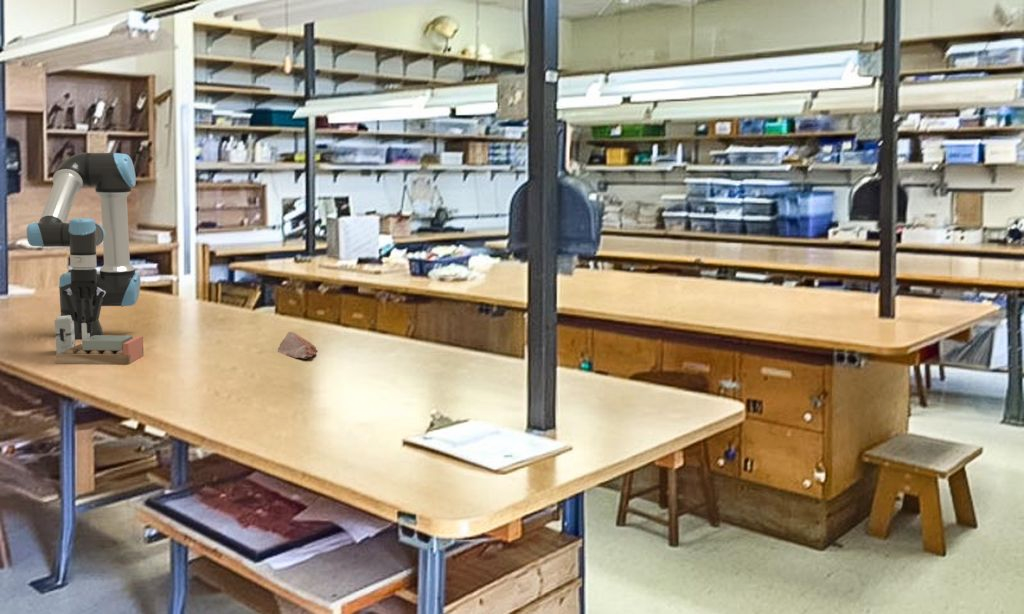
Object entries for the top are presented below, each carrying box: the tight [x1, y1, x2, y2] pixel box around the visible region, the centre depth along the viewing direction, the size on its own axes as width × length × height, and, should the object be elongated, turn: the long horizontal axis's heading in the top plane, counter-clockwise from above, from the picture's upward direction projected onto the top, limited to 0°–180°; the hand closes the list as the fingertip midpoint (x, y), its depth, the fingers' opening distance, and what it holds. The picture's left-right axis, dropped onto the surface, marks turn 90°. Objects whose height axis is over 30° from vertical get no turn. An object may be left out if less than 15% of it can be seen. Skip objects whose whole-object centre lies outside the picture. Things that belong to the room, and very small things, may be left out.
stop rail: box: [123, 335, 144, 365], centre depth 313 cm, size 14×2×6 cm, turn 3°
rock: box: [277, 331, 318, 360], centre depth 327 cm, size 10×24×10 cm
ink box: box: [54, 315, 76, 354], centre depth 322 cm, size 8×5×12 cm, turn 17°
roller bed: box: [55, 343, 145, 365], centre depth 313 cm, size 14×22×4 cm, turn 93°
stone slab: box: [81, 334, 133, 351], centre depth 312 cm, size 10×12×3 cm
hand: (86, 343), depth 312 cm, fingers closed
